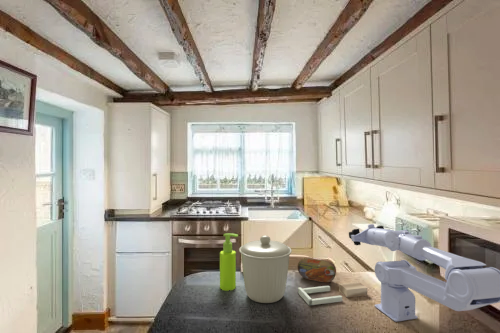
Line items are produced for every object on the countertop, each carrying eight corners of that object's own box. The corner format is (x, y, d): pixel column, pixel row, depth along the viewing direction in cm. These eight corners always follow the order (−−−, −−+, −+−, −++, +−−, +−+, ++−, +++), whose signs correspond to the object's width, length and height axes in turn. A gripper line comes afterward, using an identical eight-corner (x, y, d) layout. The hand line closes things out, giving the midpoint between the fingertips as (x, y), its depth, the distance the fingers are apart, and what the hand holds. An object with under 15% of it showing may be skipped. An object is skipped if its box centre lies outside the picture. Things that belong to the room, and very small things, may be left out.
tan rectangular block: (367, 296, 100) (367, 287, 100) (346, 298, 98) (346, 289, 98) (358, 289, 105) (358, 281, 105) (339, 292, 103) (339, 283, 103)
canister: (289, 312, 88) (289, 244, 88) (233, 306, 92) (233, 241, 92) (292, 287, 106) (293, 230, 106) (245, 283, 110) (245, 228, 110)
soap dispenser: (236, 291, 103) (236, 236, 102) (217, 289, 104) (217, 235, 104) (240, 284, 108) (240, 232, 108) (222, 283, 110) (222, 231, 110)
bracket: (342, 301, 96) (342, 295, 96) (309, 305, 93) (309, 299, 93) (328, 289, 104) (328, 284, 104) (298, 293, 101) (298, 287, 101)
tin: (297, 277, 116) (297, 256, 116) (299, 274, 118) (299, 254, 118) (335, 284, 109) (335, 262, 108) (336, 281, 111) (337, 260, 111)
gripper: (398, 222, 97) (374, 221, 110) (359, 227, 95) (339, 225, 108) (401, 243, 96) (377, 239, 109) (362, 249, 94) (342, 244, 107)
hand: (359, 233), depth 109 cm, fingers open, 7 cm apart
